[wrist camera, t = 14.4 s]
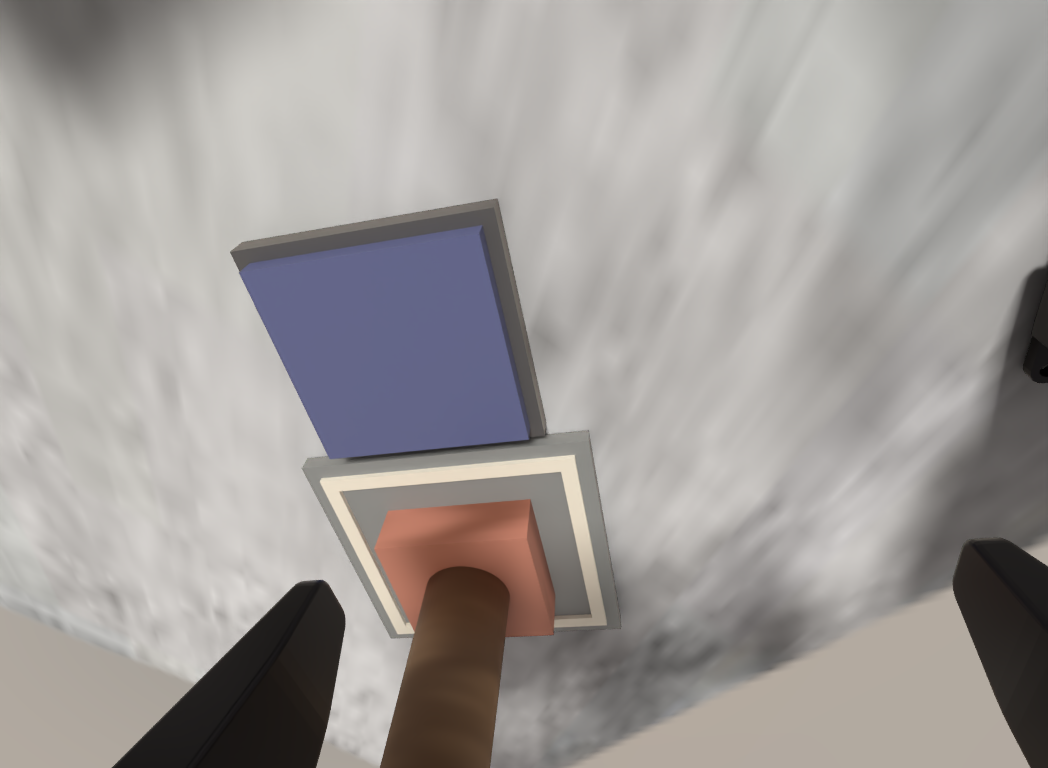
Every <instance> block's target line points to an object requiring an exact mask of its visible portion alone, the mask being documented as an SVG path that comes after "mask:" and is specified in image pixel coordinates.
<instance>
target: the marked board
mask: <svg viewBox="0 0 1048 768" xmlns="http://www.w3.org/2000/svg"><path fill="white" fill-rule="evenodd" d="M302 470H303V472H304V474H305V475H306V477H307V479H308V481H309V483H310V485H311V487H312V489H313V491H314V493H315V495H316V496H317V498H318V500H319V502H320V504H321V506H322V508H323V510H324V512H325V514H326V515H327V517H328V519H329V521H330V523H331V525H332V527H333V529H334V531H335V533H336V535H337V536H338V538H339V540H340V542H341V544H342V546H343V548H344V550H345V552H346V554H347V555H348V557H349V559H350V561H351V563H352V565H353V567H354V569H355V571H356V573H357V575H358V576H359V578H360V580H361V582H362V584H363V586H364V588H365V590H366V592H367V594H368V595H369V597H370V599H371V601H372V603H373V605H374V607H375V609H376V611H377V613H378V615H379V616H380V618H381V620H382V622H383V624H384V626H385V628H386V630H387V632H388V634H389V635H390V637H391V638H413V636H414V633H415V632H414V630H413V628H412V626H411V624H410V622H409V620H408V618H407V616H406V614H405V612H404V609H403V607H402V605H401V603H400V601H399V599H398V597H397V595H396V593H395V591H394V589H393V587H392V585H391V583H390V581H389V579H388V577H387V575H386V572H385V570H384V568H383V566H382V564H381V562H380V560H379V558H378V556H377V554H376V552H375V550H374V548H375V545H376V542H377V540H378V537H379V534H380V531H381V529H382V526H383V523H384V520H385V518H386V515H387V512H388V511H392V510H404V509H416V508H429V507H441V506H453V505H465V504H477V503H490V502H502V501H514V500H526V499H531V503H532V507H533V510H534V514H535V518H536V522H537V526H538V530H539V534H540V537H541V541H542V545H543V549H544V553H545V557H546V561H547V564H548V568H549V572H550V576H551V580H552V584H553V587H554V591H555V615H554V632H555V631H579V630H602V629H621V617H620V611H619V606H618V600H617V594H616V588H615V582H614V576H613V570H612V565H611V559H610V553H609V547H608V541H607V535H606V529H605V524H604V518H603V512H602V506H601V500H600V494H599V489H598V483H597V477H596V471H595V465H594V459H593V453H592V448H591V442H590V436H589V430H588V431H578V432H568V433H558V434H548V435H545V436H536V437H529V440H520V441H510V442H500V443H489V444H479V445H469V446H459V447H449V448H439V449H429V450H419V451H409V452H398V453H388V454H378V455H368V456H358V457H348V458H338V459H329V457H328V456H327V457H317V458H308V459H307V460H306V462H305V464H304V466H303V467H302Z"/></svg>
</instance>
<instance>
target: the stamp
mask: <svg viewBox="0 0 1048 768" xmlns="http://www.w3.org/2000/svg"><path fill="white" fill-rule="evenodd" d="M374 550H375V552H376V554H377V556H378V558H379V560H380V562H381V564H382V566H383V568H384V570H385V572H386V575H387V577H388V579H389V581H390V583H391V585H392V587H393V589H394V591H395V593H396V595H397V597H398V599H399V601H400V603H401V605H402V607H403V609H404V612H405V614H406V616H407V618H408V620H409V622H410V624H411V626H412V628H413V630H414V632H415V633H414V636H413V640H412V644H411V648H410V652H409V656H408V660H407V664H406V668H405V672H404V676H403V680H402V683H401V687H400V691H399V695H398V699H397V703H396V707H395V711H394V715H393V719H392V723H391V727H390V730H389V734H388V738H387V742H386V746H385V750H384V754H383V758H382V762H381V766H380V768H490V763H491V754H492V746H493V737H494V729H495V720H496V712H497V703H498V695H499V686H500V678H501V669H502V661H503V652H504V644H505V637H520V636H544V635H554V615H555V591H554V587H553V584H552V580H551V576H550V572H549V568H548V564H547V561H546V557H545V553H544V549H543V545H542V541H541V537H540V534H539V530H538V526H537V522H536V518H535V514H534V510H533V507H532V503H531V499H526V500H514V501H502V502H490V503H477V504H465V505H453V506H441V507H429V508H416V509H404V510H392V511H388V512H387V515H386V518H385V520H384V523H383V526H382V529H381V531H380V534H379V537H378V540H377V542H376V545H375V548H374Z"/></svg>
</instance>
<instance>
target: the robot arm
mask: <svg viewBox="0 0 1048 768" xmlns="http://www.w3.org/2000/svg"><path fill="white" fill-rule="evenodd" d="M1046 364H1048V280H1047V283H1046V287H1045V290H1044V293H1043V297H1042V300H1041V303H1040V306H1039V310H1038V313H1037V316H1036V319H1035V323H1034V326H1033V329H1032V338H1031V342H1030V345H1029V348H1028V351H1027V355H1026V358H1025V361H1024V364H1023V370H1024V372H1025V374H1027V375H1028V376H1029V377H1030V378H1031V379H1032V380H1033V381H1035V382H1037V383H1048V366H1047V367H1045V368H1044V369H1041V368H1042V367H1043V366H1045V365H1046ZM953 591H954V594H955V598H956V601H957V603H958V605H959V608H960V610H961V613H962V615H963V618H964V620H965V623H966V625H967V628H968V630H969V633H970V635H971V638H972V640H973V642H974V645H975V648H976V650H977V652H978V655H979V658H980V660H981V662H982V665H983V667H984V670H985V672H986V675H987V677H988V680H989V682H990V685H991V687H992V690H993V692H994V695H995V697H996V699H997V702H998V704H999V706H1000V708H1001V711H1002V713H1003V715H1004V717H1005V719H1006V721H1007V723H1008V725H1009V727H1010V729H1011V731H1012V733H1013V735H1014V737H1015V739H1016V741H1017V743H1018V744H1019V746H1020V748H1021V750H1022V752H1023V754H1024V756H1025V758H1026V760H1027V762H1028V764H1029V765H1030V767H1031V768H1048V566H1046V565H1045V564H1043V563H1042V562H1040V561H1039V560H1037V559H1036V558H1034V557H1033V556H1031V555H1030V554H1028V553H1027V552H1025V551H1024V550H1022V549H1021V548H1019V547H1018V546H1016V545H1015V544H1013V543H1011V542H1010V541H1008V540H1005V539H1003V538H995V537H994V538H979V539H969V540H967V541H966V542H965V543H964V544H963V546H962V549H961V553H960V556H959V559H958V563H957V566H956V570H955V573H954V576H953ZM344 631H345V614H344V611H343V609H342V607H341V605H340V603H339V602H338V600H337V598H336V596H335V595H334V593H333V591H332V590H331V588H330V586H329V585H328V583H327V582H325V581H323V580H312V581H302V582H299V583H297V584H296V585H295V586H294V587H292V588H291V589H290V590H289V591H288V592H287V593H286V594H285V595H284V596H283V597H282V598H281V599H280V600H279V601H278V602H277V603H276V604H275V605H274V606H273V607H272V608H271V609H270V610H269V611H268V612H267V613H266V614H265V615H264V616H263V617H262V618H261V619H260V620H259V621H258V622H257V623H256V624H255V625H254V626H253V627H252V628H251V629H250V630H249V631H248V632H247V633H246V634H245V635H244V636H243V637H242V638H241V639H240V640H239V641H238V642H237V643H236V644H235V645H234V646H233V647H232V648H231V649H230V650H229V651H228V652H227V653H226V654H225V655H224V656H223V657H222V658H221V659H220V660H219V661H218V662H217V663H216V664H215V665H214V666H213V667H212V668H211V669H210V670H209V671H208V672H207V673H206V674H205V675H204V676H203V677H202V678H201V679H200V680H199V681H198V682H197V683H196V684H195V685H194V686H193V687H192V688H191V689H190V690H189V691H188V692H187V693H186V694H185V695H184V696H183V697H182V698H181V699H180V700H179V701H178V702H177V703H176V704H175V705H174V706H173V707H172V708H171V709H170V710H169V711H168V712H167V713H166V714H165V715H164V716H163V717H162V718H161V719H160V720H159V721H158V722H157V723H156V724H155V725H154V726H153V727H152V728H151V729H150V730H149V731H148V732H147V733H146V734H145V735H144V736H143V737H142V738H141V739H140V740H139V741H138V742H137V743H136V744H135V745H134V746H133V747H132V748H131V749H130V750H129V751H128V752H127V753H126V754H125V755H124V756H123V757H122V758H121V759H120V760H119V761H118V762H117V763H116V764H115V765H114V766H113V767H112V768H316V766H317V762H318V759H319V755H320V752H321V748H322V744H323V741H324V737H325V733H326V729H327V725H328V720H329V715H330V710H331V705H332V699H333V693H334V688H335V682H336V676H337V671H338V665H339V659H340V654H341V648H342V642H343V637H344Z"/></svg>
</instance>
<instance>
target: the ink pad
mask: <svg viewBox="0 0 1048 768" xmlns="http://www.w3.org/2000/svg"><path fill="white" fill-rule="evenodd" d="M230 253H231V255H232V257H233V259H234V261H235V263H236V265H237V267H238V269H239V271H240V272H239V274H240V276H241V278H242V280H243V282H244V284H245V286H246V288H247V290H248V292H249V294H250V296H251V298H252V300H253V302H254V305H255V307H256V309H257V311H258V313H259V315H260V317H261V319H262V321H263V323H264V325H265V327H266V329H267V331H268V333H269V335H270V337H271V339H272V342H273V344H274V346H275V348H276V350H277V352H278V354H279V356H280V358H281V360H282V362H283V364H284V366H285V368H286V370H287V372H288V374H289V377H290V379H291V381H292V383H293V385H294V387H295V389H296V391H297V393H298V395H299V397H300V399H301V401H302V403H303V405H304V407H305V409H306V412H307V414H308V416H309V418H310V420H311V422H312V424H313V426H314V428H315V430H316V432H317V434H318V436H319V438H320V440H321V442H322V444H323V446H324V449H325V451H326V453H327V455H328V457H329V459H338V458H348V457H358V456H368V455H378V454H388V453H398V452H409V451H419V450H429V449H439V448H449V447H459V446H469V445H479V444H489V443H500V442H510V441H520V440H529V437H536V436H545V429H546V419H545V415H544V410H543V406H542V401H541V396H540V392H539V387H538V383H537V378H536V373H535V369H534V364H533V360H532V355H531V350H530V346H529V341H528V337H527V332H526V328H525V323H524V318H523V314H522V309H521V305H520V300H519V295H518V291H517V286H516V282H515V277H514V272H513V268H512V263H511V259H510V254H509V250H508V245H507V240H506V236H505V231H504V227H503V222H502V217H501V213H500V208H499V204H498V199H492V200H487V201H481V202H475V203H469V204H463V205H457V206H451V207H446V208H440V209H434V210H428V211H422V212H416V213H411V214H405V215H399V216H393V217H387V218H381V219H376V220H370V221H364V222H358V223H352V224H346V225H340V226H335V227H329V228H323V229H317V230H311V231H305V232H300V233H294V234H288V235H282V236H276V237H270V238H265V239H259V240H253V241H247V242H242V243H241V244H239V245H238V246H237V247H236V248H234V249H233V250H232V251H231V252H230Z"/></svg>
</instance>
